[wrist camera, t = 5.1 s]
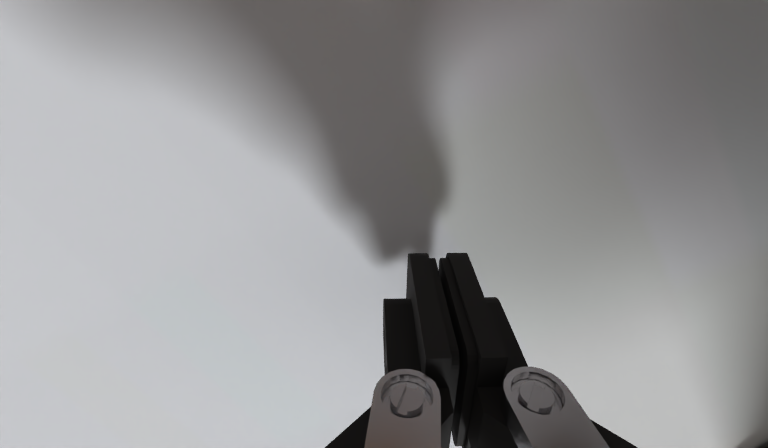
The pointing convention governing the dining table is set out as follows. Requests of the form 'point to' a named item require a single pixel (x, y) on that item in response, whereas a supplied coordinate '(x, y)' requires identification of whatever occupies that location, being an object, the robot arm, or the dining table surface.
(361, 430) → the robot arm
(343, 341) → the dining table surface
